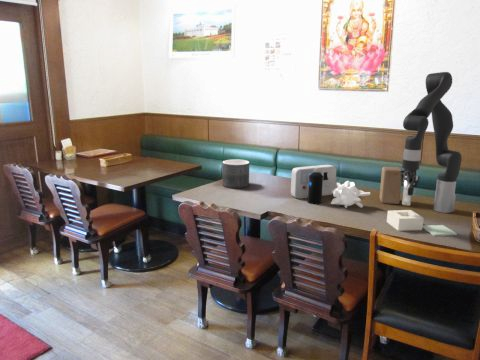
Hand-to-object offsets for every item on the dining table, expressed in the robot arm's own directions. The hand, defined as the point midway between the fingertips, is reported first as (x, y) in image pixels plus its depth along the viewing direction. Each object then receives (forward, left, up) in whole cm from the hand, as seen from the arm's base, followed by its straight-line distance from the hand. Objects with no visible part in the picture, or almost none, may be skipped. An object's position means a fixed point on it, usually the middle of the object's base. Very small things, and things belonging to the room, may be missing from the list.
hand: (407, 193), depth 193 cm
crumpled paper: (+17, -33, -17) cm, 41 cm away
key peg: (0, 0, -5) cm, 5 cm away
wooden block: (-11, -39, -17) cm, 44 cm away
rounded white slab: (+30, -55, -17) cm, 65 cm away
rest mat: (-13, +8, -16) cm, 22 cm away
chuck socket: (0, 0, -16) cm, 16 cm away
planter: (+75, -83, -17) cm, 113 cm away
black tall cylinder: (+33, -41, -17) cm, 55 cm away
